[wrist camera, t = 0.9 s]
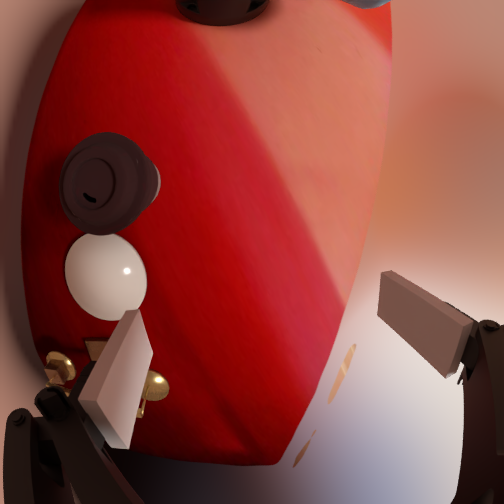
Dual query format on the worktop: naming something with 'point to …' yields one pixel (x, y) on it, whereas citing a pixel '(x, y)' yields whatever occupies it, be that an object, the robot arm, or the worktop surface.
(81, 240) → the saucer
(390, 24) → the worktop surface
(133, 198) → the coffee cup
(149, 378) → the balance
